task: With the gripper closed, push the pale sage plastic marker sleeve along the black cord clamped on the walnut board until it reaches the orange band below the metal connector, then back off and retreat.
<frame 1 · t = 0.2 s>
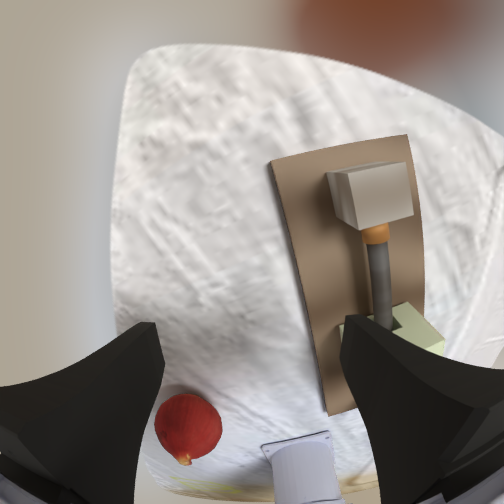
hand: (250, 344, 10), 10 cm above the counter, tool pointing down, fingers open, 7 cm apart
sleeve: (390, 354, 17), point 4 cm above the counter, slide at 0.0 cm
cord board: (368, 300, 20), on the counter
onion: (194, 395, 23), on the counter
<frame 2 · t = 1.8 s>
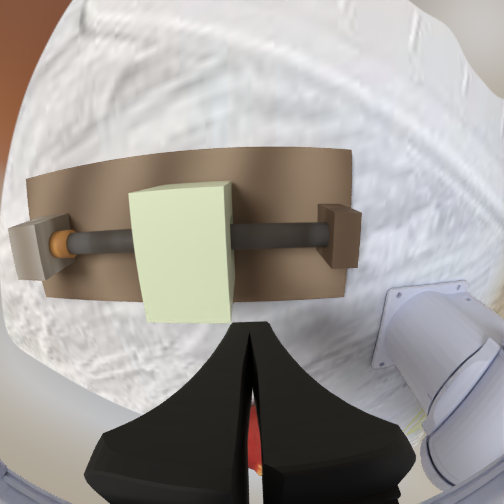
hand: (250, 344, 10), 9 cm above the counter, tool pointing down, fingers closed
sleeve: (191, 243, 14), point 4 cm above the counter, slide at 0.0 cm
cord board: (167, 228, 18), on the counter
onion: (259, 405, 23), on the counter
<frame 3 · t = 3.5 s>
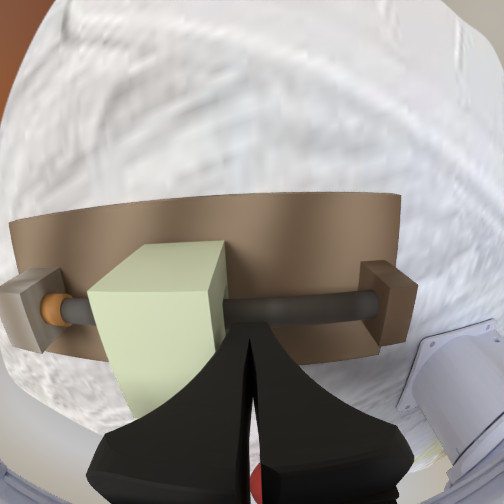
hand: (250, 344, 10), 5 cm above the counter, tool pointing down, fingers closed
sleeve: (177, 328, 11), point 4 cm above the counter, slide at 1.7 cm, touching gripper
cord board: (179, 288, 15), on the counter
onion: (281, 449, 20), on the counter
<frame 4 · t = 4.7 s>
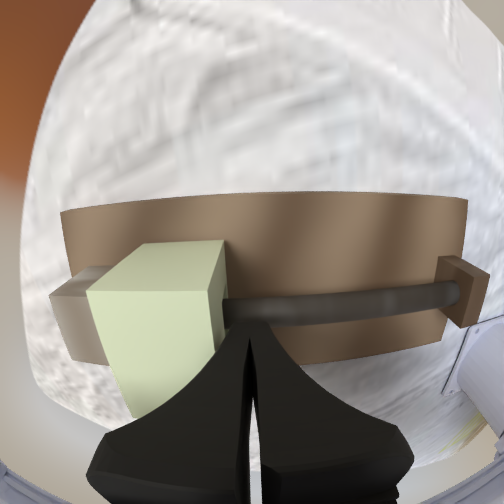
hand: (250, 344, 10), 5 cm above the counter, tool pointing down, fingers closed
sleeve: (176, 328, 11), point 4 cm above the counter, slide at 7.1 cm, touching gripper
cord board: (277, 284, 15), on the counter
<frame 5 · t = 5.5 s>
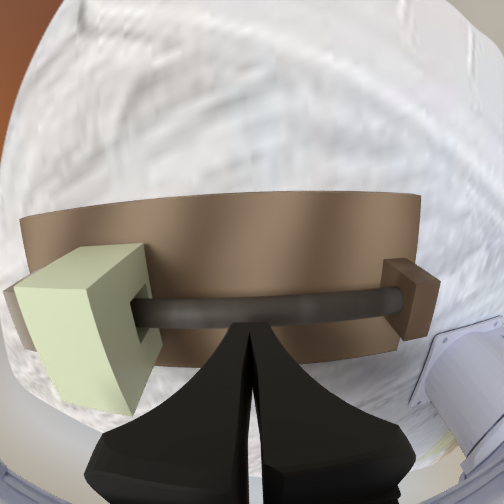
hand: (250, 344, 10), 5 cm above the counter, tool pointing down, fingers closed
sleeve: (97, 323, 11), point 4 cm above the counter, slide at 7.1 cm
cord board: (204, 286, 15), on the counter
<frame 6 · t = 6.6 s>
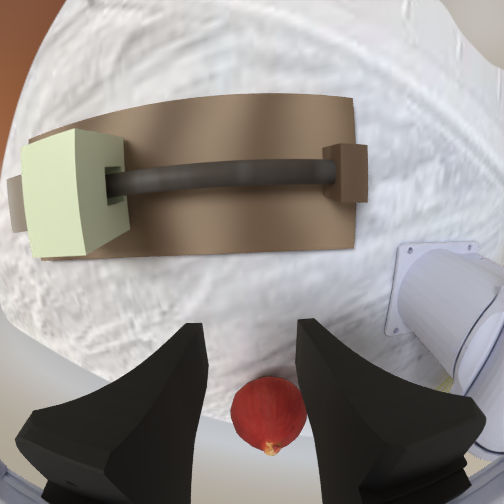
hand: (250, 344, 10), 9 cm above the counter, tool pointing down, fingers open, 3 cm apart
sleeve: (77, 191, 13), point 4 cm above the counter, slide at 7.1 cm
cord board: (169, 177, 17), on the counter
onion: (266, 379, 22), on the counter
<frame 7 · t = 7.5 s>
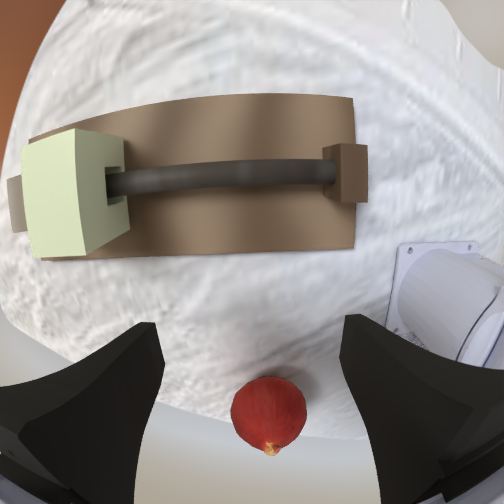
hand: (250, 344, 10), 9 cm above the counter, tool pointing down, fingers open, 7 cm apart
sleeve: (77, 191, 13), point 4 cm above the counter, slide at 7.1 cm
cord board: (169, 177, 17), on the counter
onion: (266, 379, 22), on the counter
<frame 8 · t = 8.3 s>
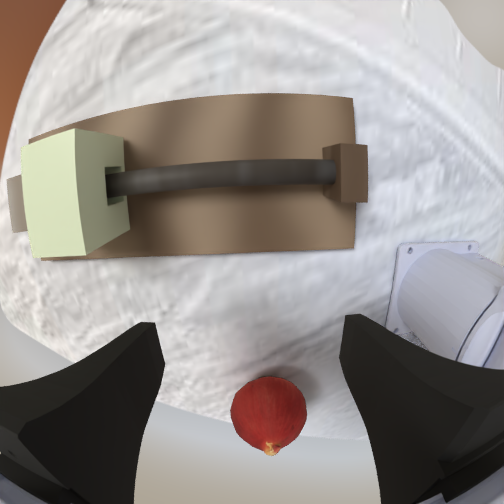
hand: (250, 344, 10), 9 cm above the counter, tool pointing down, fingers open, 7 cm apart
sleeve: (77, 191, 13), point 4 cm above the counter, slide at 7.1 cm
cord board: (169, 177, 17), on the counter
onion: (266, 379, 22), on the counter
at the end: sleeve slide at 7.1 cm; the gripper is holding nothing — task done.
